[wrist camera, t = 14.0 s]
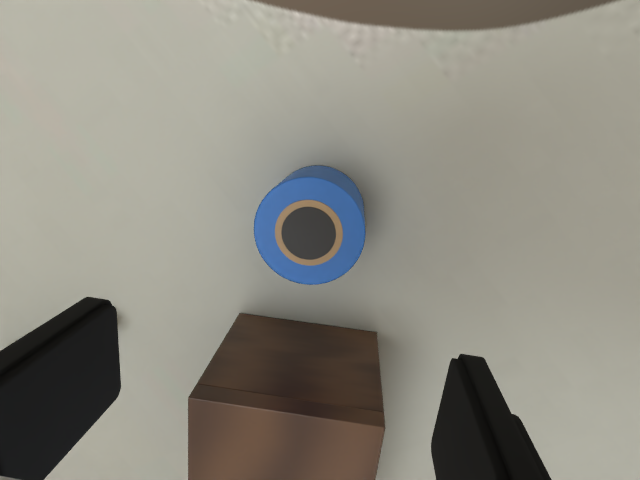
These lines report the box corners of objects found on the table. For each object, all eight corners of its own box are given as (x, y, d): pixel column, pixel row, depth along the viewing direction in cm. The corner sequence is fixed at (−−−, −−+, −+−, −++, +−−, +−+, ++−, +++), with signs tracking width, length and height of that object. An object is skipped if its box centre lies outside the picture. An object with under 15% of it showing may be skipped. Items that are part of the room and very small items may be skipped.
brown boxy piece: (376, 332, 31) (385, 427, 21) (351, 486, 36) (348, 620, 26) (239, 312, 31) (187, 397, 22) (232, 467, 36) (187, 591, 27)
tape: (370, 171, 27) (373, 184, 22) (357, 260, 29) (357, 292, 24) (276, 160, 28) (255, 170, 22) (270, 248, 30) (250, 278, 24)
